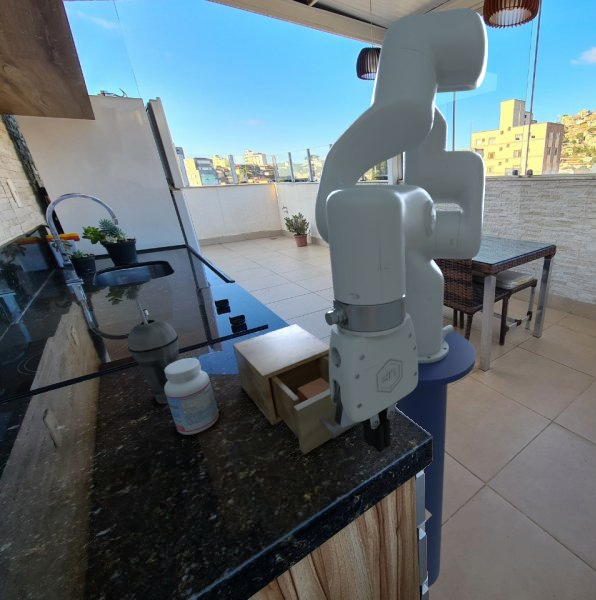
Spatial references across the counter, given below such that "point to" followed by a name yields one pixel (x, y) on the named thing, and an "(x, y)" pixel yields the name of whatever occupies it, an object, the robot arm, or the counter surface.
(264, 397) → the cabinet
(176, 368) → the pill bottle
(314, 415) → the drawer
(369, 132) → the robot arm
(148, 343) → the beverage cup
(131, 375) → the counter surface
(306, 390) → the block
